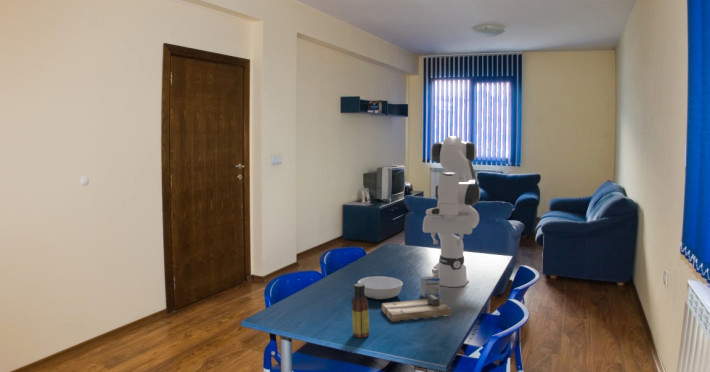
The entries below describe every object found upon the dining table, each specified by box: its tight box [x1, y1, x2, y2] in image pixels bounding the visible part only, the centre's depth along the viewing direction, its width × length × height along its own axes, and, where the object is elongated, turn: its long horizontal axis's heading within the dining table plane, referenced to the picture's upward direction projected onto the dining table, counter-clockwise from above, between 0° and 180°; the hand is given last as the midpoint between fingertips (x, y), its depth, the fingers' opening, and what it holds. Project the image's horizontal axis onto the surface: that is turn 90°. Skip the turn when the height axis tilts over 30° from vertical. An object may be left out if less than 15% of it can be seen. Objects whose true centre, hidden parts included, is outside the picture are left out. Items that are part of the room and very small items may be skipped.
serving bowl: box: [357, 275, 404, 300], centre depth 242 cm, size 21×21×7 cm
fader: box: [426, 295, 441, 306], centre depth 222 cm, size 6×3×3 cm, turn 15°
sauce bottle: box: [351, 282, 370, 338], centre depth 196 cm, size 6×6×20 cm
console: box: [381, 298, 452, 323], centre depth 220 cm, size 14×26×3 cm, turn 105°
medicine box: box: [420, 276, 441, 298], centre depth 243 cm, size 8×4×9 cm, turn 105°
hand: (446, 244), depth 212 cm, fingers open, 8 cm apart
